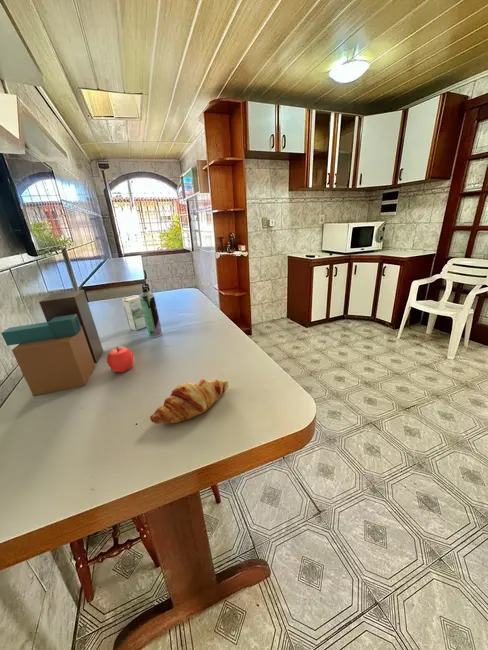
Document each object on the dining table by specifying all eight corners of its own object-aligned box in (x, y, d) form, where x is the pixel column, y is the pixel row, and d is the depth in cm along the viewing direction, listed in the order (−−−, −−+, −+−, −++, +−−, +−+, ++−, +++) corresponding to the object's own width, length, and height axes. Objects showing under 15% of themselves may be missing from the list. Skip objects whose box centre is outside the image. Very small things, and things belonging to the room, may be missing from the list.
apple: (126, 376, 83) (119, 353, 80) (104, 374, 85) (97, 352, 82) (141, 363, 90) (135, 341, 87) (120, 362, 92) (114, 341, 89)
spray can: (163, 335, 111) (153, 288, 103) (150, 338, 108) (139, 291, 101) (160, 331, 115) (150, 285, 108) (147, 334, 113) (136, 288, 105)
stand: (65, 369, 91) (38, 301, 82) (74, 355, 100) (51, 293, 91) (96, 363, 93) (74, 296, 84) (103, 350, 102) (83, 289, 93)
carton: (32, 395, 77) (11, 350, 71) (49, 374, 88) (32, 333, 82) (85, 385, 80) (68, 340, 74) (95, 366, 91) (81, 325, 85)
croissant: (223, 394, 76) (213, 368, 76) (242, 393, 68) (230, 364, 68) (151, 433, 63) (139, 401, 64) (163, 438, 55) (150, 402, 55)
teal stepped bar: (6, 346, 74) (-2, 330, 72) (15, 339, 79) (8, 323, 77) (76, 335, 78) (71, 319, 76) (81, 329, 82) (76, 313, 80)
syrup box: (140, 324, 125) (133, 294, 119) (147, 326, 121) (140, 296, 116) (129, 328, 121) (121, 298, 115) (136, 331, 117) (128, 299, 112)
